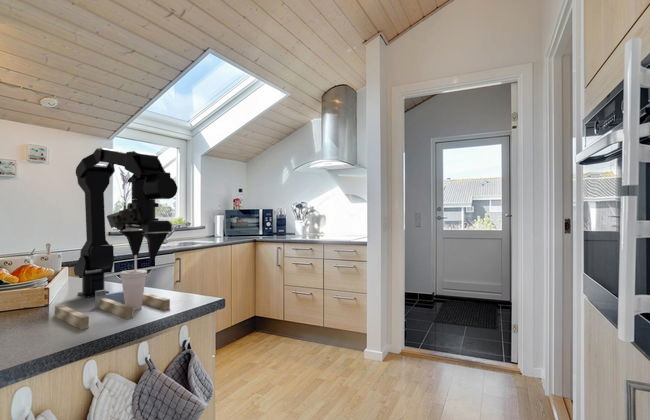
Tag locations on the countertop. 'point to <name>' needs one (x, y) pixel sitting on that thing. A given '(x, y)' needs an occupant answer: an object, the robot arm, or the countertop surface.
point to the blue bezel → (109, 296)
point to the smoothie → (133, 286)
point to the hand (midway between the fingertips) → (143, 257)
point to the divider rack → (108, 309)
